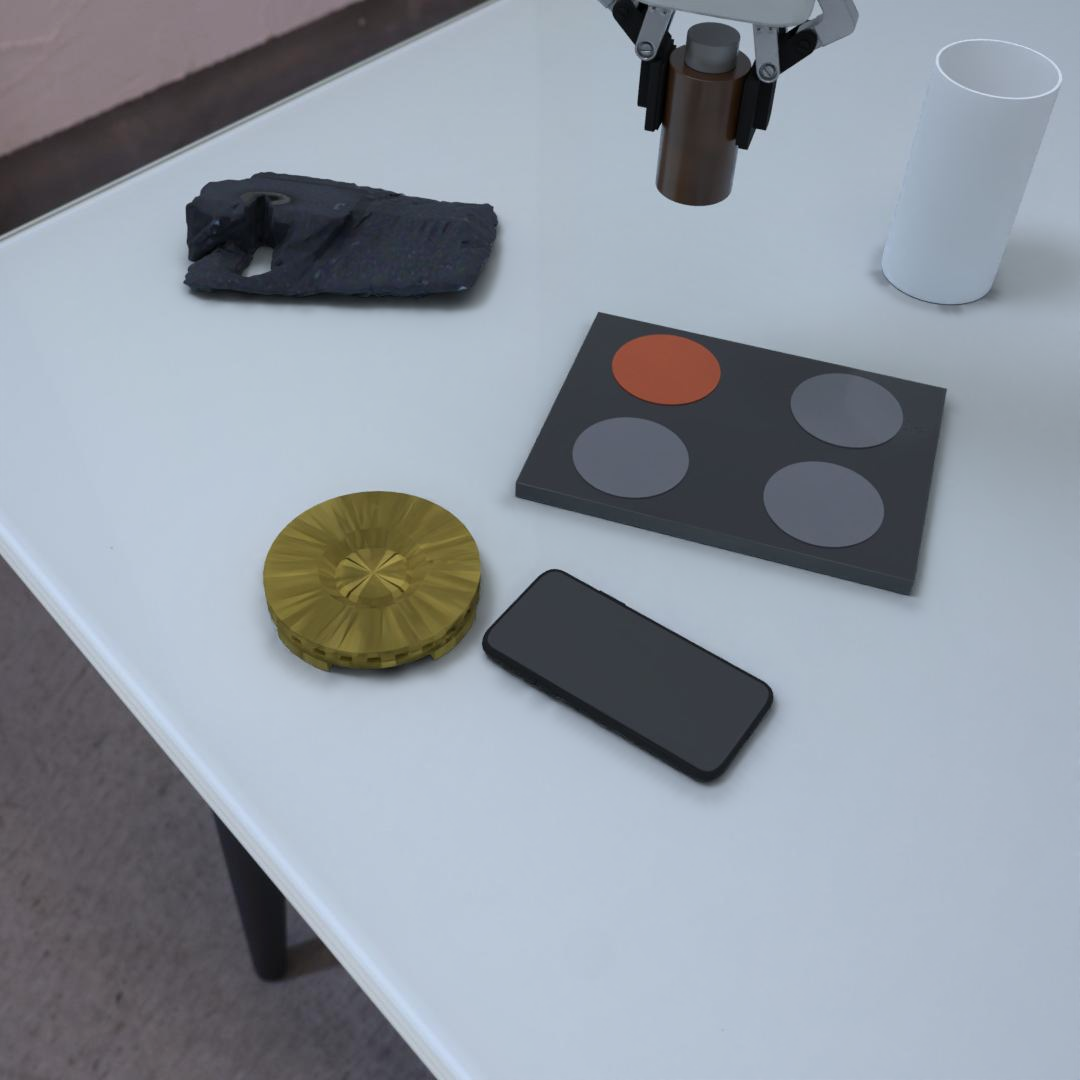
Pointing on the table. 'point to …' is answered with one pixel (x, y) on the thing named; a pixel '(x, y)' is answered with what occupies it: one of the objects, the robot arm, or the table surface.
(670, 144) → the pepper mill
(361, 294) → the dark slate chunk
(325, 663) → the gold round disc
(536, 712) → the table surface
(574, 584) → the smartphone
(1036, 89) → the cup
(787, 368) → the hob
